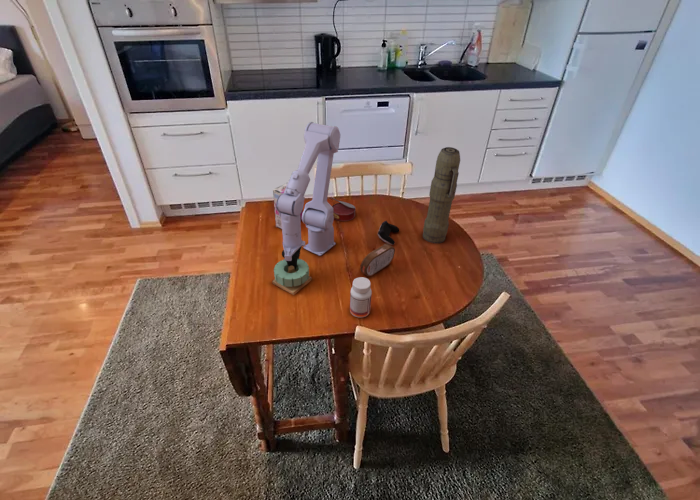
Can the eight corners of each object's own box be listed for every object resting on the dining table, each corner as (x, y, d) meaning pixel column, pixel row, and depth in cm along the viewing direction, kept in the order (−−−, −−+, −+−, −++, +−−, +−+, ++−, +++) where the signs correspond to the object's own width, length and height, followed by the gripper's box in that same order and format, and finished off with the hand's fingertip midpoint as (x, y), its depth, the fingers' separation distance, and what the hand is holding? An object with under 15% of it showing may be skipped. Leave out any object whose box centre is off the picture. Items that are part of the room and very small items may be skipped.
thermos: (434, 226, 157) (450, 141, 136) (452, 242, 149) (472, 154, 128) (415, 231, 154) (428, 145, 133) (433, 247, 146) (450, 158, 125)
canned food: (332, 221, 167) (329, 197, 165) (355, 218, 167) (352, 194, 166) (332, 223, 156) (329, 198, 154) (357, 220, 156) (354, 194, 155)
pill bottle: (359, 300, 122) (360, 272, 115) (374, 311, 119) (377, 282, 112) (345, 311, 118) (346, 282, 111) (360, 321, 115) (362, 293, 108)
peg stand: (291, 269, 133) (290, 255, 130) (311, 280, 129) (311, 265, 126) (272, 283, 127) (270, 269, 123) (293, 295, 123) (292, 280, 119)
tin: (388, 258, 140) (390, 238, 135) (395, 262, 138) (397, 242, 133) (358, 277, 131) (359, 256, 126) (365, 281, 129) (367, 261, 124)
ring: (290, 261, 133) (290, 253, 131) (315, 273, 128) (315, 266, 126) (267, 277, 125) (266, 270, 124) (293, 291, 121) (293, 283, 119)
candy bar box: (284, 231, 151) (281, 193, 142) (275, 227, 154) (271, 189, 144) (304, 219, 159) (302, 182, 149) (294, 215, 161) (292, 178, 151)
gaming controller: (392, 234, 156) (380, 221, 154) (400, 229, 153) (389, 216, 151) (386, 249, 147) (374, 236, 145) (395, 244, 145) (383, 230, 143)
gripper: (300, 244, 115) (302, 280, 123) (308, 218, 126) (309, 252, 134) (276, 243, 115) (279, 278, 123) (286, 217, 127) (289, 251, 135)
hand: (293, 264), depth 129 cm, fingers closed on ring, 3 cm apart
